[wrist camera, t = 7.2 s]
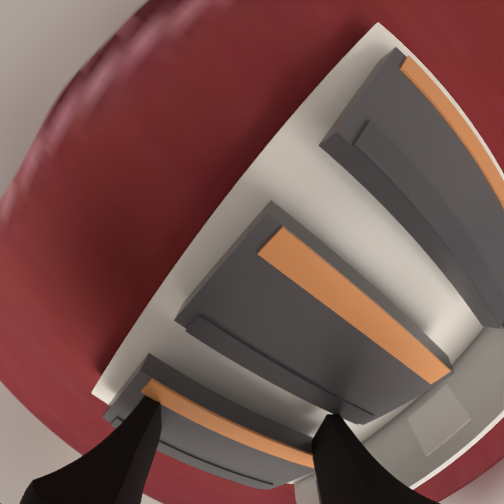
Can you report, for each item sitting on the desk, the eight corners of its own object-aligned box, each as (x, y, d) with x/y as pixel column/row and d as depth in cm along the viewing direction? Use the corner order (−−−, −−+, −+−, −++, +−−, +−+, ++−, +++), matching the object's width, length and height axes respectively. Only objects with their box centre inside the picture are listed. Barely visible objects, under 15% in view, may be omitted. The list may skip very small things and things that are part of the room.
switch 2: (149, 352, 10) (138, 372, 9) (333, 444, 12) (335, 462, 11) (109, 402, 12) (101, 419, 11) (268, 476, 14) (268, 491, 13)
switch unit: (364, 34, 9) (438, -32, 3) (524, 250, 12) (592, 286, 6) (101, 376, 14) (57, 455, 8) (299, 470, 17) (309, 538, 11)
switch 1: (270, 200, 8) (266, 214, 7) (448, 355, 10) (455, 375, 9) (183, 302, 10) (172, 322, 10) (361, 408, 12) (363, 427, 11)
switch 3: (379, 59, 8) (398, 44, 7) (510, 231, 10) (527, 230, 9) (318, 145, 7) (339, 129, 6) (482, 325, 9) (502, 329, 8)
